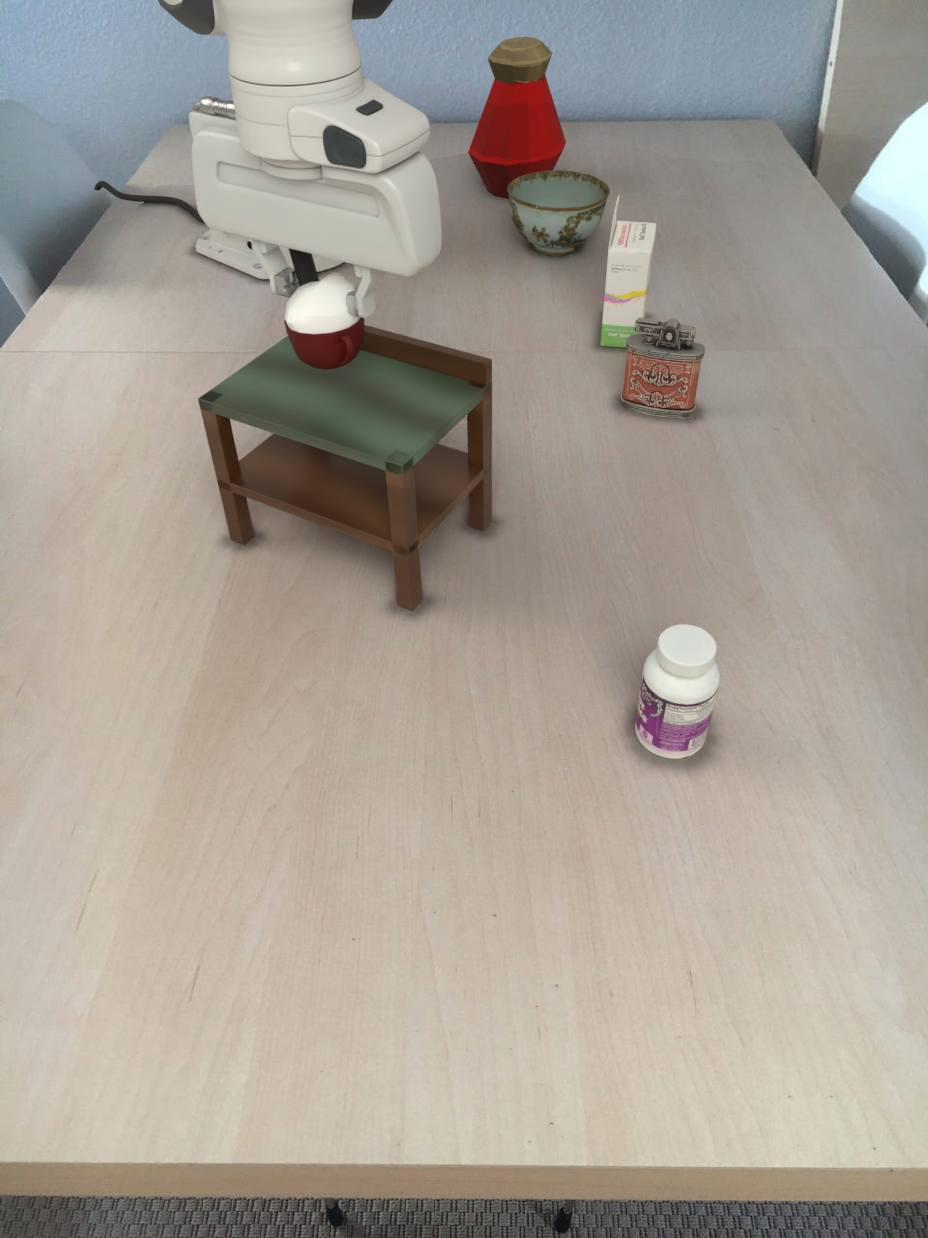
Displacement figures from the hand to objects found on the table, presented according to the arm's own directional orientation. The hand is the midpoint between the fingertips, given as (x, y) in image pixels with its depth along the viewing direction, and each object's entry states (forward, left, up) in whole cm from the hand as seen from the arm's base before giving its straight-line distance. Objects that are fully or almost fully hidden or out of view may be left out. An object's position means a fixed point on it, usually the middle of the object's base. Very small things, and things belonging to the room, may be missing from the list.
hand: (324, 303), depth 77 cm
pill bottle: (+35, -9, -22) cm, 43 cm away
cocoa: (0, 0, -5) cm, 5 cm away
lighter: (+17, +33, -22) cm, 43 cm away
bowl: (-11, +65, -22) cm, 70 cm away
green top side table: (+1, 0, -22) cm, 22 cm away
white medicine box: (+7, +47, -22) cm, 53 cm away
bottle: (-26, +82, -22) cm, 89 cm away
